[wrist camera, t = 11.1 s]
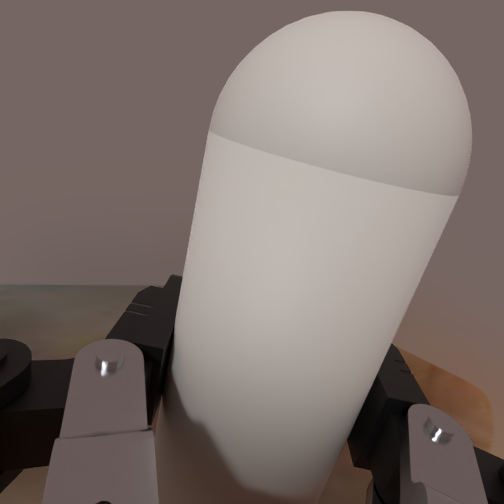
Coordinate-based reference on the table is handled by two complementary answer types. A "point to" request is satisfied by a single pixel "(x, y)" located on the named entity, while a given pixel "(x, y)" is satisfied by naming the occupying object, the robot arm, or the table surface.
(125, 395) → the robot arm
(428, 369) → the table surface
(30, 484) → the table surface
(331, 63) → the skittle
